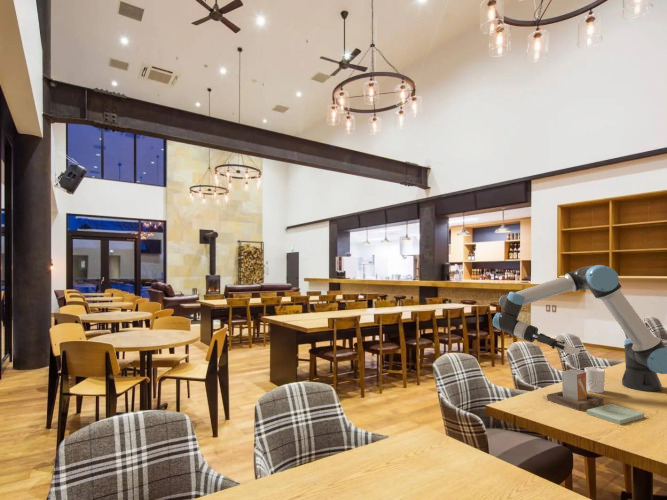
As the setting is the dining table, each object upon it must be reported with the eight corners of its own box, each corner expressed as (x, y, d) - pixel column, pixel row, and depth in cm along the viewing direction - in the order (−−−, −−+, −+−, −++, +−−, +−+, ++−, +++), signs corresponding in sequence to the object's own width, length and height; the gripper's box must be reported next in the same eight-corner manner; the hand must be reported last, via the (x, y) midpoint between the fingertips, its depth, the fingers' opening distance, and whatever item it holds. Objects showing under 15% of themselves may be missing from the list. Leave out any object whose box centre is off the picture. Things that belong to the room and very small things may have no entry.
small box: (578, 406, 163) (577, 374, 163) (562, 402, 168) (561, 371, 169) (587, 402, 167) (586, 371, 168) (571, 398, 172) (570, 368, 173)
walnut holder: (571, 395, 177) (570, 389, 177) (603, 404, 165) (603, 398, 165) (547, 400, 170) (547, 394, 170) (579, 410, 158) (579, 404, 158)
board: (611, 407, 161) (610, 403, 161) (644, 417, 150) (644, 413, 150) (586, 413, 154) (586, 409, 154) (619, 424, 143) (619, 420, 143)
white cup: (605, 390, 184) (604, 368, 185) (605, 394, 178) (605, 372, 178) (585, 387, 189) (584, 366, 189) (585, 391, 182) (584, 369, 182)
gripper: (531, 340, 194) (578, 360, 179) (515, 338, 175) (566, 359, 161) (536, 326, 193) (584, 345, 179) (521, 322, 175) (573, 342, 161)
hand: (576, 352), depth 170 cm, fingers open, 13 cm apart
